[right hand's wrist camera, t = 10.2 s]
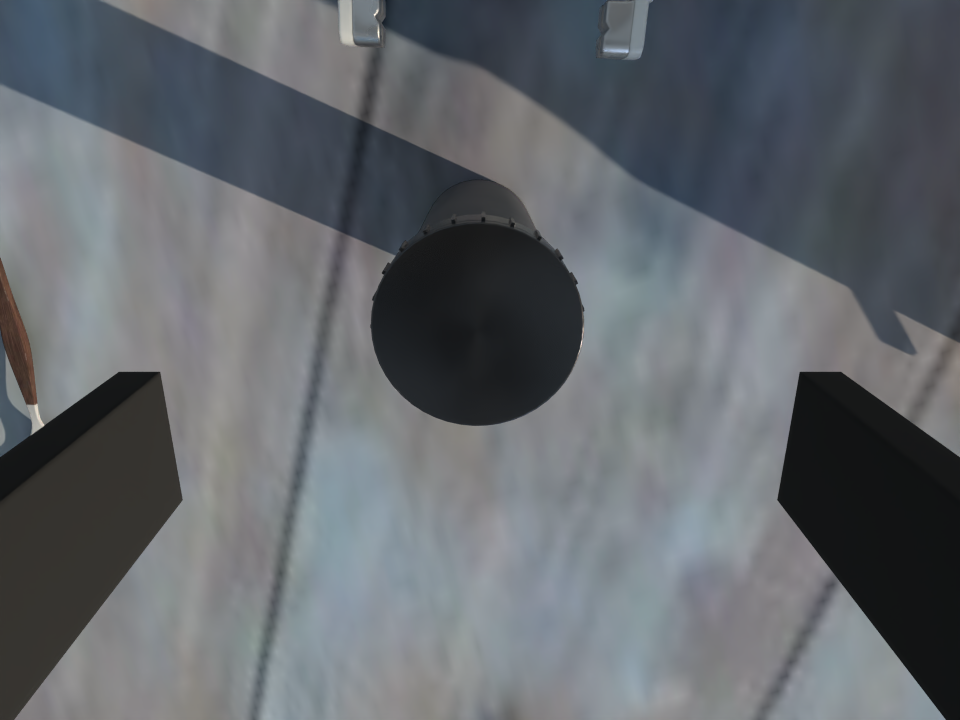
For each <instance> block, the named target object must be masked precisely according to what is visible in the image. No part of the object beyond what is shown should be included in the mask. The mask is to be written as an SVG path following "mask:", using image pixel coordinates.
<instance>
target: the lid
mask: <svg viewBox="0 0 960 720" xmlns="http://www.w3.org/2000/svg"><path fill="white" fill-rule="evenodd" d="M399 250H400V251H399V252H398V253H397V255H396V256H395V258H394V259H393V261H392V262H391V264H390V263H387V265H386V267H385V268H384V270H383V272H382V274H384V276H383V278H382V280H381V282H380V284H379V286H378V289H377V291H376V292H375V294H374V296H373V299H372V300H373V301H374V302H373V307H372V314H371V325H370V326H371V332H372V341H373V345H374V350H375V353H376V356H377V358H378V361H379V364H380V366H381V368H382V370H383V371H384V373H385V375H386V377H387V378H388V380H389V381H390V382H391V384H392V385H393V386H394V388H395V389H396V390H397V391H398V392H399V393H400V394H401V395H402V396H403V397H404V398H405V399H406V400H408V401H409V402H410V403H411V404H412V405H414V406H416V407H417V408H419V409H420V410H422V411H423V412H425V413H427V414H429V415H431V416H433V417H436V418H438V419H441V420H444V421H447V422H451V423H456V424H461V425H471V426H484V425H493V424H500V423H504V422H508V421H511V420H514V419H517V418H519V417H522V416H524V415H526V414H528V413H530V412H532V411H533V410H535V409H537V408H538V407H540V406H541V405H542V404H544V403H545V402H547V401H548V400H549V399H550V398H551V397H552V396H553V395H554V394H555V393H556V392H557V391H558V390H559V389H560V388H561V386H562V385H563V384H564V383H565V381H566V380H567V378H568V377H569V375H570V373H571V372H572V370H573V368H574V366H575V363H576V361H577V359H578V356H579V353H580V349H581V346H582V340H583V334H584V316H583V311H584V307H583V305H582V303H581V299H580V295H579V292H578V289H577V287H576V284H578V282H577V280H576V278H575V277H574V275H573V273H572V272H571V273H569V271H568V269H567V268H566V266H565V264H564V262H563V261H562V259H563V256H562V255H561V253H560V251H559V250H558V249H556V250H554V248H553V247H552V246H551V245H550V244H549V243H548V242H547V241H546V240H545V239H544V238H542V236H541V234H540V232H539V231H538V230H535V232H534V231H533V230H531V229H529V228H528V227H526V226H524V225H522V224H520V223H517V222H515V221H514V218H513V217H510V219H506V218H502V217H498V216H493V215H485V212H481V214H475V215H463V216H456V214H453V215H452V218H449V219H446V220H442V221H440V222H438V223H435V224H433V225H431V226H430V225H429V224H427V225H425V227H424V229H423V231H421V232H419V233H418V234H417V235H415V236H414V237H413V238H412V239H411V240H409V241H408V242H407V241H406V240H405V241H404V242H403V244H402V245H401V247H400V249H399Z"/></svg>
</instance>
